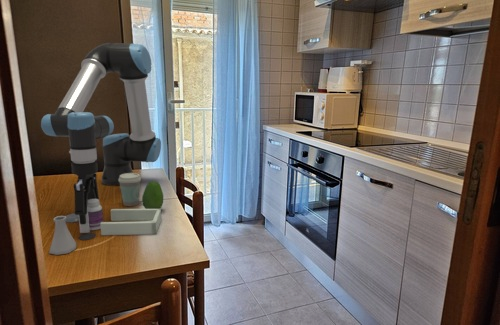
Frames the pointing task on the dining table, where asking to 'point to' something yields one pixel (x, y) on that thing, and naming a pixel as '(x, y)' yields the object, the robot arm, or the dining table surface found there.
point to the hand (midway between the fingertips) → (89, 227)
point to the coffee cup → (130, 188)
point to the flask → (62, 238)
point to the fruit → (152, 196)
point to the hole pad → (87, 236)
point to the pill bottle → (94, 214)
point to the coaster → (72, 218)
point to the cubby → (132, 227)
